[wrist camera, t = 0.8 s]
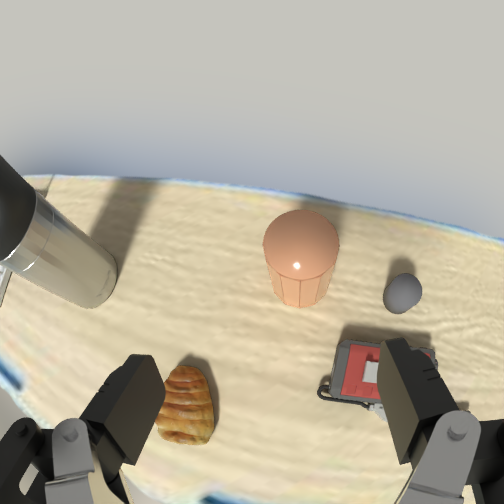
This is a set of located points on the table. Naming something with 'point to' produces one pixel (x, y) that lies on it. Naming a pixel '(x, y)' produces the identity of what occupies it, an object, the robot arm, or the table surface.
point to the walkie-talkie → (359, 375)
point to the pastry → (186, 408)
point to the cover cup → (300, 256)
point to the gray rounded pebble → (402, 293)
